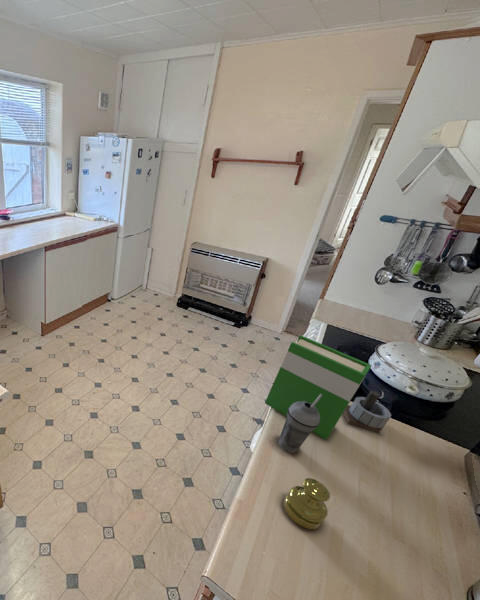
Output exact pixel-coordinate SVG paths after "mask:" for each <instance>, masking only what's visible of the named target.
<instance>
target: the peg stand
mask: <svg viewBox="0 0 480 600" xmlns="http://www.w3.org/2000/svg"><path fill="white" fill-rule="evenodd" d="M380 397H381V394H380V393H379V392H377V391H376V390H370V391H369V392H368V394H367V396H366V397H365V398H366V399H365V400H364V402H363V403H362V405H361V406H362V407H363V408H364V409H366V410H367V411H369V412H370V410H371V409H372V407H373V406H374V404H375V403H376V402H378V400H379V398H380ZM350 407H351V405H350V404H348V406H347V407H346V409H345V411H344V412H343V414H342V416H343V418H344V419H345V422H346V424H347V425H350V426H353V427H356V428H360V429H363V430H366V431H370V432H373V433H376V434H380V432H381V428H374V427H371V426H368V425H366V424H364V423H362V422H360V421H359V420H357V419H356V418H355V417H354V416H352V414H351V413H350V411H349V408H350Z"/></svg>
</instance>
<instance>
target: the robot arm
mask: <svg viewBox="0 0 480 600" xmlns="http://www.w3.org/2000/svg"><path fill="white" fill-rule="evenodd" d="M473 363H474V365H475V367H477V368H479V369H480V353H479V354H478V355H477V357H476V358H475V359H474V361H473Z"/></svg>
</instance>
